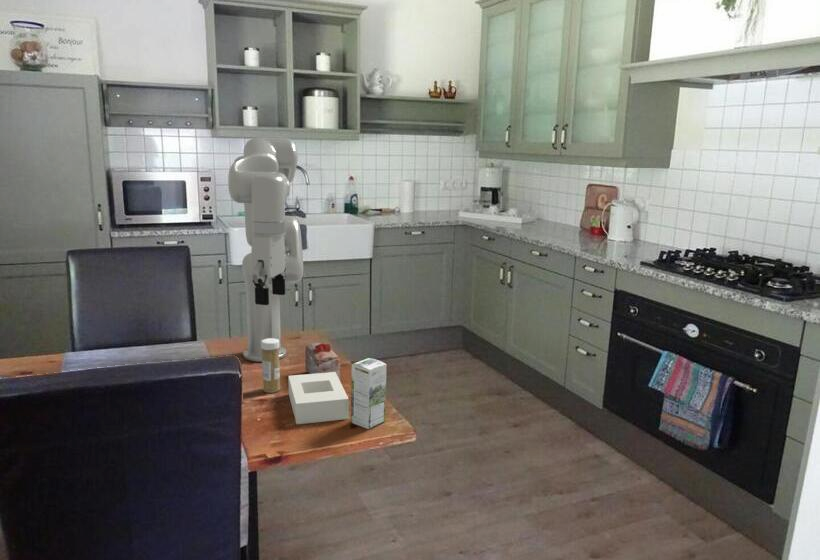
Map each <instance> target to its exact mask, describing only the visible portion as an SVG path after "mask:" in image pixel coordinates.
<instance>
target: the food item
mask: <svg viewBox="0 0 820 560" xmlns="http://www.w3.org/2000/svg"><path fill="white" fill-rule="evenodd" d="M304 353H305V354H304V356H305V358H304V359H305V361H304V362H305V363H304V364H305V366H304V367H305V371H306V372H307V373H308V374H316V373H328V372H336V374H337V376H338V378H339V379H340V377H341V376H340V373H341V358H340V357H339V356H338V355H337V354H336V353H335V352H334V349H333V348H332V347H331V344H328V343H322V342H315V343H311V344H307V345H306V346H305V352H304Z"/></svg>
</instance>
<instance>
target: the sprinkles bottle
mask: <svg viewBox="0 0 820 560" xmlns="http://www.w3.org/2000/svg"><path fill="white" fill-rule="evenodd" d="M261 348H262V362H261V366H262V367H261V368H262V369H261V370H262V383H263V384H262V391H264V392H265V393H269V394H271V393H272V394H273V393H277V392H279V391H281V378H280V377H281V375H280V372H281V369H280V359H279V340H278V339H275V338H268V339H264V340H262V341H261Z"/></svg>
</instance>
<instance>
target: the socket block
mask: <svg viewBox="0 0 820 560" xmlns="http://www.w3.org/2000/svg"><path fill="white" fill-rule="evenodd" d="M287 382H288V396H289V400H290V405H291V408H292V412H293V415H294V420H295V424H296V425H304V424H312V423H313V424H315V423H321V422H322V423H323V422H331V421H340V420H341V421H342V420H349V419H350V417H349V416H350V414H349V411H350V409H349V407H350V406H349V405H350V403H349V402H350V398H349V397H348V394H347V393H346V391H345V388H344V387H343V384H342V382H341V380H340V377H339V378H338V376H337V374H336V372H328V373H316V374H309V373H308V374H307V373H306V374H296V375H295V374H294V375H288V381H287Z"/></svg>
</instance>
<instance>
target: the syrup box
mask: <svg viewBox="0 0 820 560" xmlns="http://www.w3.org/2000/svg"><path fill="white" fill-rule="evenodd" d="M387 365H388V364H386V363H385V362H383V361H381V360H378V359H375V358H370V357H368V358H365V359H362V360H359V361H357V362H354V363H352V364H351V378H350V379H351V380H350V381H351V384H350V385H351V386H350V387H351V388H350V389H351V390H350V392H351V394H350V422H351V424H353V425H356V426H358V427H362V428H364V429H367V430H370V429H372V428H374V427H377V426H379V425H381V424H383V423H385V422H386V399H387V397H386V396H387V395H386V394H387Z"/></svg>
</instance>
